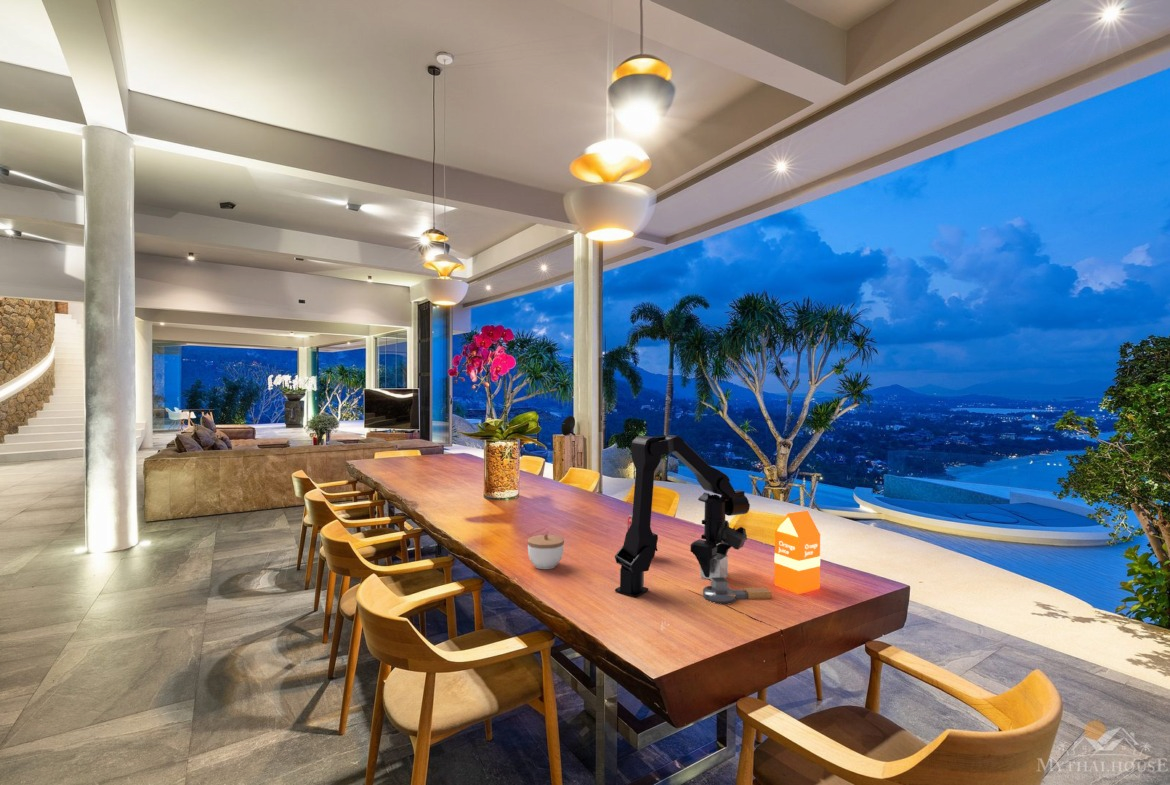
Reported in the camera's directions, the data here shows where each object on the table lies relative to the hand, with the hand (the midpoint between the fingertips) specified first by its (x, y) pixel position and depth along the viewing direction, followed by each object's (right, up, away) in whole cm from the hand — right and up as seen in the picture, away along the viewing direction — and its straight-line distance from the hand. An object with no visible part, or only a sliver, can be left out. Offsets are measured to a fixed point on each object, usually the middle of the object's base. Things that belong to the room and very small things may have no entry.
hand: (714, 572), depth 140 cm
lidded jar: (-48, -1, +7) cm, 48 cm away
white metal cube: (0, -1, 0) cm, 1 cm away
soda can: (-19, -1, +17) cm, 26 cm away
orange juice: (+21, -2, -6) cm, 22 cm away
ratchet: (+2, -1, -14) cm, 14 cm away
